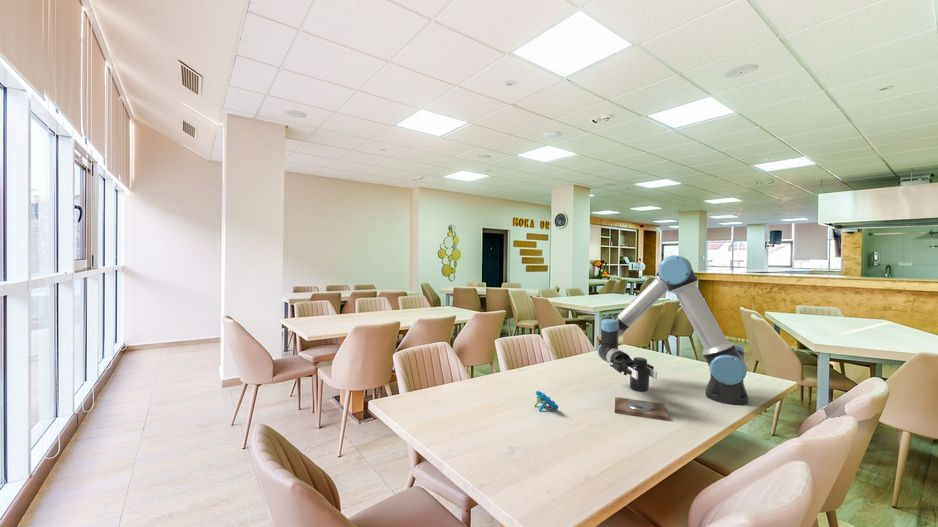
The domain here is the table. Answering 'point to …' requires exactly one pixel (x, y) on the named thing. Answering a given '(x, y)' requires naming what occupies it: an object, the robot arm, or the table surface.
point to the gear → (544, 401)
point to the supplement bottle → (640, 375)
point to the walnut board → (640, 408)
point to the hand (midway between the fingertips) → (646, 375)
